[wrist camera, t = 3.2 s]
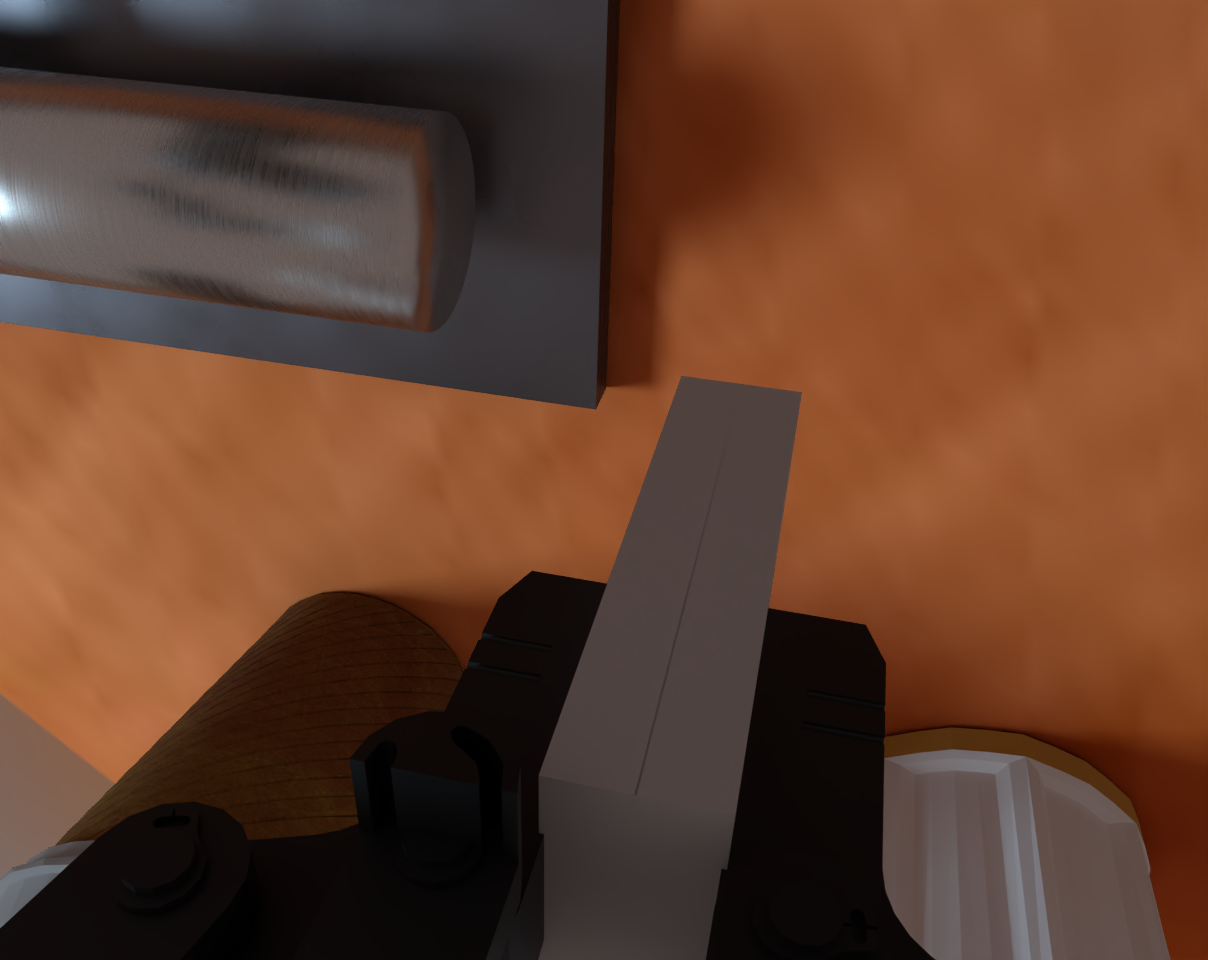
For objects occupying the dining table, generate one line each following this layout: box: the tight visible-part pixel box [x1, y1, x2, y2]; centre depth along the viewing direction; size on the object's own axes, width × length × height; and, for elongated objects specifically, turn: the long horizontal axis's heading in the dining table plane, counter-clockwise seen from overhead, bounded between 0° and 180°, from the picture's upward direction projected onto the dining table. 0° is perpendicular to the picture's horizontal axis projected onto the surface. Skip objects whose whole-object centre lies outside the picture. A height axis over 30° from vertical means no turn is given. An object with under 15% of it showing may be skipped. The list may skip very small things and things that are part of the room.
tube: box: [0, 67, 475, 333], centre depth 21 cm, size 16×4×4 cm, turn 89°
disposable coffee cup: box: [0, 593, 463, 928], centre depth 28 cm, size 10×10×12 cm
